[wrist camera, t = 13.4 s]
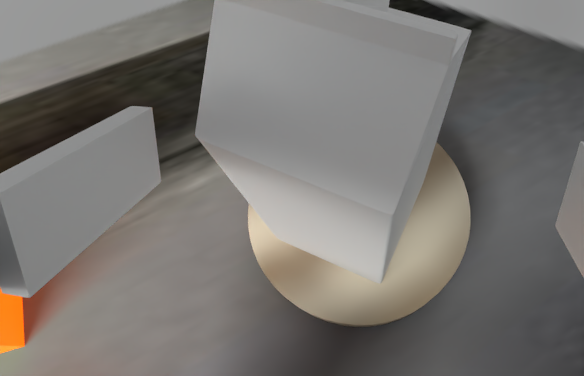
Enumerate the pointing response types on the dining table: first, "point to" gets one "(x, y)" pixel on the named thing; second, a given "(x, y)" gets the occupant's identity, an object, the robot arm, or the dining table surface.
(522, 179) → the dining table surface
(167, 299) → the dining table surface
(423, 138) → the milk carton
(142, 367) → the dining table surface
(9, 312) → the orange juice
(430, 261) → the birch stand
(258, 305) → the dining table surface
